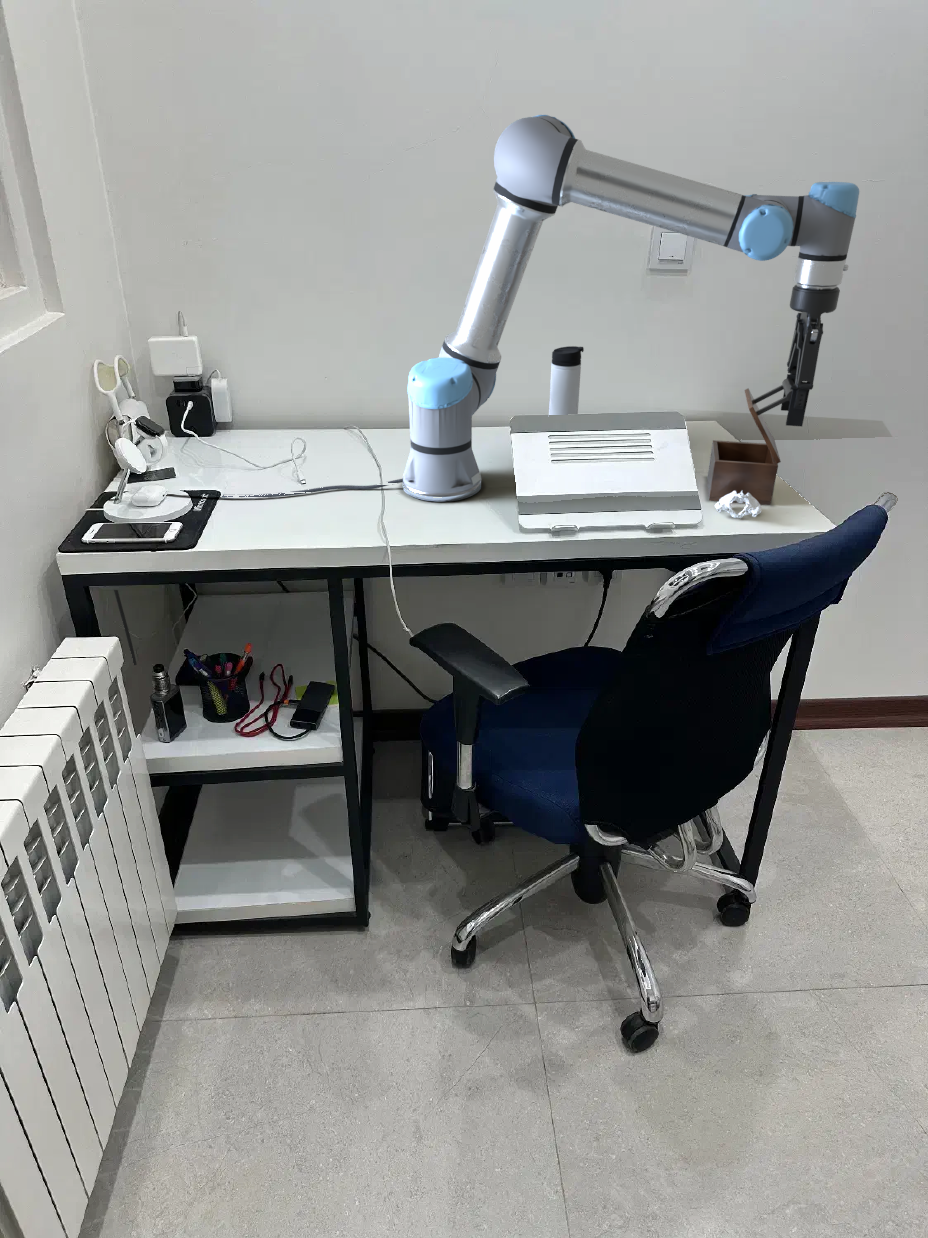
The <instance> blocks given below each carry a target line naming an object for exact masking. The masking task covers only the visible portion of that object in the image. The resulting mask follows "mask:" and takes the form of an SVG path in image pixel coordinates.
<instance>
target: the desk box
mask: <svg viewBox="0 0 928 1238" xmlns="http://www.w3.org/2000/svg"><path fill="white" fill-rule="evenodd" d="M778 468H779V463H778V464H776V462H775V460H774V458H773V456H772V454H771V452H770V450H769V448H768V446H767V444H766V442H765V443H763V442H748V441H732V440H716V439H715V440H714V439H713V440H712V443H711V449H710V454H709V463H708V469H707V477H706V480H707V481H706V482H707V491H708V492H707V493H708V501H710V502H719V500H720V499H721V498H722V497H724V496H725V495H727V494H730V493H732V492H733V491H736V492H737V493H736V494H739V493H741V491H742V493H743V494H744V495H746V494H747V493H750V494H751V495H752V496H753V497H754V498H755V499H756V500H757V501H758V502H759V504H760V505H761V506H762V505H763V506H771V505H772V499H773V494H774V490H775V486H776V485H775V484H776V479H777V474H778ZM732 503H734V504H735V503H737V504H739V503H738V502H737V501H733V502H732ZM742 504H746V502H743V503H742Z"/></svg>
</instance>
